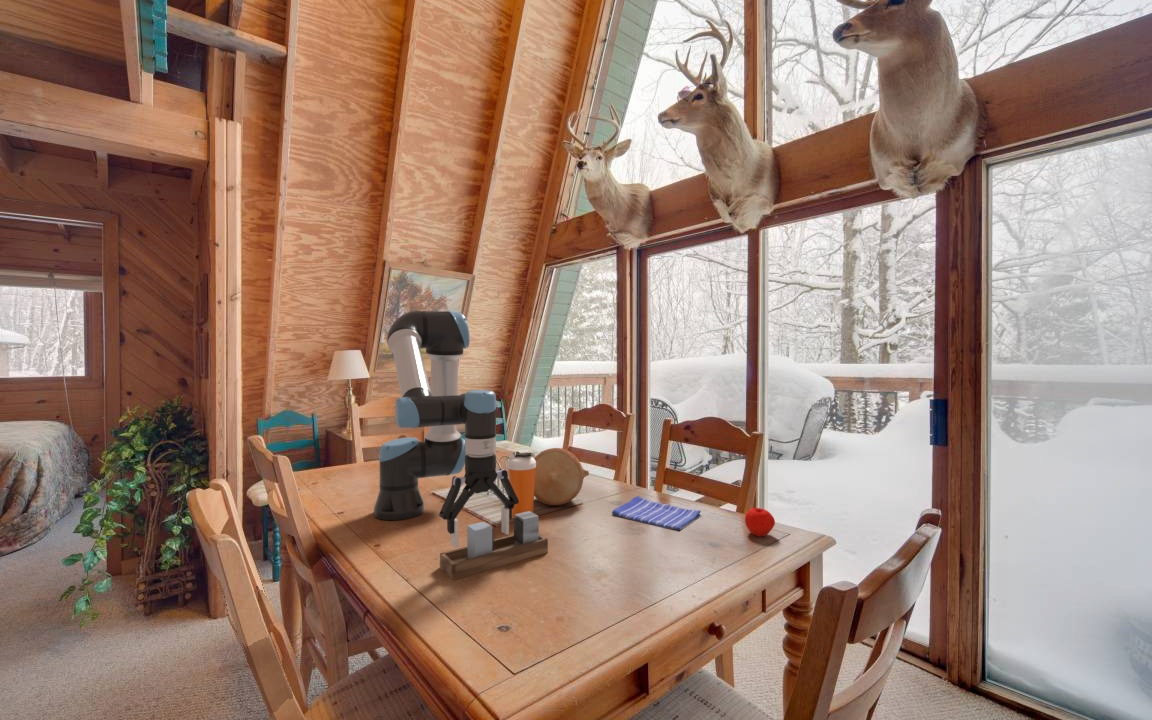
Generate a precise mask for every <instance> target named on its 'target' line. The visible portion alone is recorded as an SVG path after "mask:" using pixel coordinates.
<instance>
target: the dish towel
mask: <svg viewBox="0 0 1152 720" xmlns="http://www.w3.org/2000/svg"><path fill="white" fill-rule="evenodd" d="M701 512H702V510H699V509H689V508H682V507H678V506H676V505H675V506H674V505H671V504H665V503H660V502H657V501H653V500H648V499H646V498H643V497H641V496H639V495H637V496H635V497H633V498H632V499H631V500H630V501H628V502H626V503H624V504H622V505H619V506H618V507H616V508H614V509H613V510H612V511H611V514H612V515H613V516H615V517H620V518H623V519H627V520H631V521H636V522H640V523H645V524H649V525H652V526H656V527H661V528H665V529H669V530H677V531H680V530H683V529H684V528H686V527H687V526H689V525H690V524H691V523H693V522H695V521H696V520H697V519H698V518H700V516H701V514H700V513H701Z"/></svg>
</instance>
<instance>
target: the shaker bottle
mask: <svg viewBox="0 0 1152 720" xmlns="http://www.w3.org/2000/svg"><path fill="white" fill-rule="evenodd" d="M533 455H534V453H532V452H526V451H525V452H520V451H518V450H517V451H514V452H512V453H510V454H509V456H508V461H507V465H506V466H507V472H508V479H509V481H510V483H511V486H512V488H513V490H514V492H515V494H516V496H517V498H518V500H519V503H518V504H515V505H514V508H513V509H512V517H513V518H515V514H519V513H524V512H528V511H530V512H532V513H534V505H535V504H534V502H535V496H534V483H535V468H536V461H535V459H534V458H535V457H534V456H533ZM513 518H512V519H513Z"/></svg>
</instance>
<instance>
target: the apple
mask: <svg viewBox="0 0 1152 720" xmlns="http://www.w3.org/2000/svg"><path fill="white" fill-rule="evenodd" d="M744 523H745V527H746V528H747V530H748V531H749V532H750V533H751V534H752V535H754V536H756V537H764V536H767V535H768V534H769V533H771V532H772V530H773V528H774V527H775V524H776V521H775V518H774V516H773V515H772V513H771V512H770V511H768V510H766V509H765V508H760V507H753V508H750V509H749V510H748V511H747V512H746V513H745V517H744Z"/></svg>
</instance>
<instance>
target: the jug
mask: <svg viewBox="0 0 1152 720" xmlns="http://www.w3.org/2000/svg"><path fill="white" fill-rule="evenodd" d="M533 458H534V459H535V461H536V468H535V483H534V498H536V499H537V500H538V501H539V502H541V503H543V504H545V505H548V506H563V505H565V504H567V503H570V502H571V501H572V500H574V499H575V498H576V497H577V496H578V495H579V493H580V491H581V490H582V487H583V483H584V478H586V477H588V476H589V475H590V471H589V470H586V469H584V467H583V466H582V463H581V462H580V460H579V459H578V457H576V455H575V454H574V453H572V452H571V451H569V450H568V449H565V448H561V447H551V448H547V449H545V450H542V451H540V452H538V454H537V455H535V456H534V457H533Z"/></svg>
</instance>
